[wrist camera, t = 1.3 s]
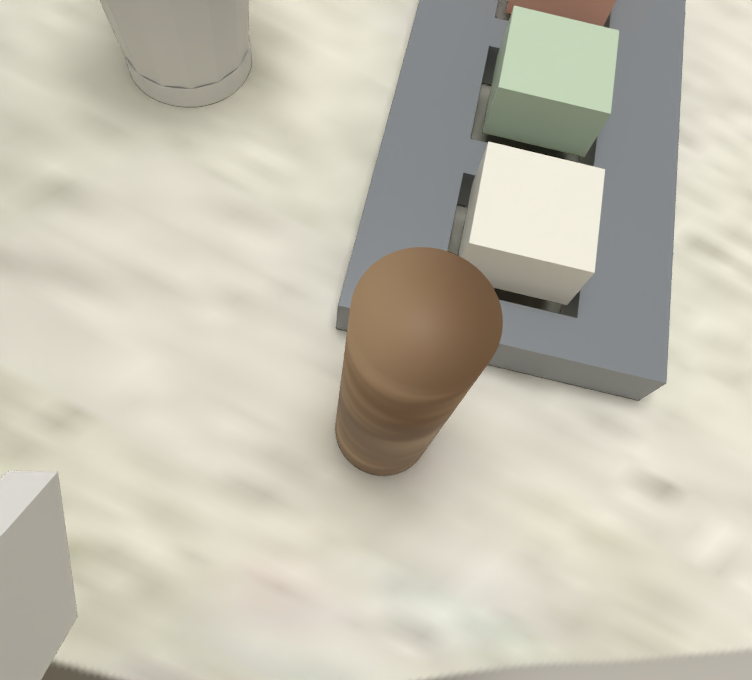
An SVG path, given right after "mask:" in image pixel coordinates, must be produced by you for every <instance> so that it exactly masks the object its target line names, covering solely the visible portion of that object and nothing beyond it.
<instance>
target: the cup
mask: <svg viewBox="0 0 752 680" xmlns="http://www.w3.org/2000/svg"><path fill="white" fill-rule="evenodd" d="M100 2H101V4H102V7H103V9H104V11H105V13H106V16H107V18H108V20H109V22H110V25H111V27H112V29H113V31H114V33H115V36H116V38H117V40H118V42H119V45H120V47H121V49H122V51H123V53H124V56H125V59H126V62H127V65H128V68H129V71H130V73H131V76H132V78H133V80H134V81H135V83H136V84H137V86H138V87H139V88H140V89H141V90H142V91H143V92H145V93H146V94H147V95H149V96H150V97H152V98H154V99H156V100H158V101H160V102H163V103H166V104H169V105H173V106H180V107H199V106H205V105H209V104H213V103H216V102H218V101H221V100H223V99H225V98H227V97H228V96H230V95H231V94H233V93H234V92H235V91H237V90H238V89H239V88H240V87H241V86H242V84H243V83H244V82H245V80H246V79H247V77H248V75H249V72H250V69H251V63H252V56H251V47H250V38H249V14H248V0H100Z"/></svg>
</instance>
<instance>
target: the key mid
mask: <svg viewBox="0 0 752 680" xmlns="http://www.w3.org/2000/svg"><path fill="white" fill-rule="evenodd" d="M618 38H619V30H615V29H611V28H607V27H603V26H598V25H594V24H590V23H586V22H582V21H577V20H573V19H569V18H565V17H561V16H556V15H552V14H548V13H544V12H540V11H535V10H531V9H527V8H523V7H519V6H514V7H513V10H512V13H511V16H510V19H509V22H508V25H507V28H506V31H505V34H504V37H503V40H502V43H501V46H500V49H499V52H498V55H497V59H496V64H495V70H494V75H493V80H492V85H491V90H490V95H489V100H488V105H487V111H486V116H485V121H484V126H483V131H482V133H485V134H490V135H494V136H498V137H502V138H506V139H511V140H515V141H519V142H523V143H527V144H532V145H536V146H540V147H544V148H548V149H553V150H557V151H561V152H565V153H570V154H574V155H578V156H582V157H585V155H586V154H587V152H588V150H589V149H590V147H591V146H592V144H593V142H594V141H595V139H596V137H597V136H598V134H599V132H600V131H601V129H602V127H603V126H604V124H605V123H606V121H607V119H608V118H609V116H610V114H611V107H612V97H613V87H614V78H615V68H616V58H617V48H618Z"/></svg>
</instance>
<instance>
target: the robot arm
mask: <svg viewBox="0 0 752 680" xmlns="http://www.w3.org/2000/svg"><path fill="white" fill-rule="evenodd" d="M77 617H78V615H77V608H76V601H75V593H74V586H73V579H72V571H71V564H70V556H69V549H68V542H67V534H66V527H65V520H64V512H63V505H62V498H61V490H60V483H59V476H58V472H55V471H8V472H7V473H6V474H5V475H4V476H3V477H2V478H1V479H0V680H41V679H42V677H43V675H44V674H45V672H46V670H47V668H48V667H49V665H50V663H51V662H52V660H53V658H54V656H55V655H56V653H57V651H58V650H59V648H60V646H61V644H62V643H63V641H64V639H65V637H66V636H67V634H68V632H69V631H70V629H71V627H72V625H73V624H74V622H75V620H76V619H77Z"/></svg>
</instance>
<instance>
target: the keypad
mask: <svg viewBox="0 0 752 680" xmlns="http://www.w3.org/2000/svg"><path fill="white" fill-rule="evenodd" d="M685 2H686V0H616V2H615V4H614V6H613V8H612V10H611V12H610V14H609V16H608V18H607V20H606V22H605V24H604V26H603V27H607V28H611V29H615V30H619V38H618V48H617V58H616V68H615V78H614V87H613V97H612V107H611V114H610V116H609V118H608V119H607V121H606V123H605V124H604V126H603V127H602V129H601V131H600V132H599V134H598V136H597V137H596V139H595V141H594V142H593V144H592V146H591V147H590V149H589V150H588V152H587V154H586V155H585V157H582V156H579V163H581V164H585V165H589V166H594V167H598V168H602V169H605V176H604V186H603V195H602V205H601V215H600V225H599V235H598V244H597V254H596V264H595V273H594V274H593V275H592V276H591V278H590V279H589V280H588V281H587V282H586V283H585V285H584V286H583V287H582V288H581V289H580V291H579V292H578V293H577V294H576V295H575V296H574V298H573V299H572V300H571V301H570V302H569V303H568V305H564V304H562V305H561V313H560V314H558V313H553V312H549V311H545V310H541V309H536V308H532V307H528V306H524V305H520V304H515V303H511V302H507V301H503V300H499V302H500V305H501V309H502V315H503V329H502V336H501V340H500V343H499V346H498V348H497V351H496V352H495V354H494V356H493V357H492V359H491V360H490V362H489V363H488V365H492V366H496V367H500V368H504V369H509V370H513V371H517V372H521V373H525V374H530V375H534V376H538V377H542V378H546V379H551V380H555V381H559V382H563V383H568V384H572V385H576V386H580V387H584V388H589V389H593V390H597V391H601V392H605V393H610V394H614V395H618V396H622V397H626V398H631V399H635V400H640V399H642V398H644V397H645V396H647V395H648V394H650V393H652V392H653V391H655V390H656V389H658V388H660V387H661V386H663V385H664V384H666V380H667V360H668V340H669V320H670V300H671V280H672V260H673V241H674V221H675V201H676V181H677V161H678V141H679V121H680V101H681V82H682V62H683V42H684V22H685ZM497 4H498V0H420V1H419V4H418V8H417V12H416V16H415V19H414V23H413V27H412V31H411V34H410V38H409V42H408V46H407V49H406V53H405V57H404V60H403V64H402V68H401V72H400V75H399V79H398V83H397V87H396V90H395V94H394V98H393V102H392V105H391V109H390V113H389V117H388V120H387V124H386V128H385V132H384V135H383V139H382V143H381V146H380V150H379V154H378V158H377V161H376V165H375V169H374V173H373V176H372V180H371V184H370V188H369V191H368V195H367V199H366V203H365V206H364V210H363V214H362V217H361V221H360V225H359V229H358V232H357V236H356V240H355V244H354V247H353V251H352V255H351V259H350V262H349V266H348V270H347V274H346V277H345V281H344V285H343V289H342V292H341V296H340V300H339V303H338V311H337V323H336V329H340V330H344V331H347V329H348V321H349V313H350V305H351V300H352V296H353V293H354V290H355V287H356V285H357V283H358V281H359V280H360V278H361V277H362V275H363V274H364V273H365V272H366V270H367V269H368V268H369V267H370V266H371V265H373V264H374V263H375V262H376V261H378V260H379V259H381V258H382V257H384V256H386V255H388V254H390V253H392V252H395V251H398V250H402V249H407V248H413V247H429V248H436V249H441V250H445V251H448V246H449V241H450V236H451V231H452V226H453V221H454V216H455V211H456V206H457V204H459V205H463V206H467V207H468V203H469V198H470V192H471V187H472V183H473V180H474V178H475V175H476V172H477V170H478V167H479V165H480V162H481V159H482V157H483V154H484V151H485V149H486V146H487V142H483V141H478V140H474V139H470V137H471V132H472V127H473V123H474V118H475V113H476V108H477V103H478V98H479V93H480V88H481V83H485V84H489V85H492V80H493V75H494V70H495V64H496V59H497V55H498V52H499V49H500V46H501V43H502V40H503V37H504V34H505V31H506V28H507V25H508V22H509V21H507V20H503V19H499V18H495V14H496V9H497Z"/></svg>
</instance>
